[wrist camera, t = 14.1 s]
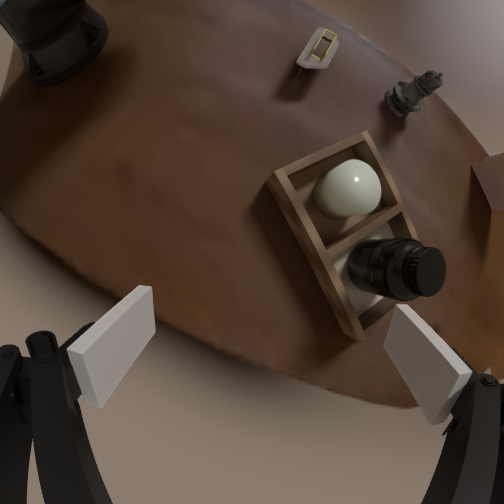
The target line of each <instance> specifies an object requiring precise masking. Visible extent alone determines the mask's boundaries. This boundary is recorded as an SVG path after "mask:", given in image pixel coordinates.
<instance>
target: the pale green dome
mask: <svg viewBox="0 0 504 504" xmlns="http://www.w3.org/2000/svg"><path fill="white" fill-rule="evenodd" d="M313 198H314V202H315V204H316V206H317V208H318V209H319V211H320V212H321V213H322V214H323V215H325V216H326V217H328V218H331V219H343V218H347V217H352V216H357V215H362V214H366V213H369V212H371V211H373V210H374V209H375V208H376V207H377V205H378V203H379V201H380V198H381V185H380V181H379V178H378V176H377V174H376V173H375V171H374V170H373V169H372V168H371V167H370V166H369V165H368V164H367V163H365V162H363V161H360V160H355V159H354V160H348V161H346V162H344V163H342V164H340V165H339V166H337V167H335V168H334V169H332V170H330V171H329V172H327V173H325V174H324V175H322V176H321V177H319V178H318V180H317V181H316V183H315V185H314V189H313Z"/></svg>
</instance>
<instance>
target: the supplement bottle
mask: <svg viewBox="0 0 504 504" xmlns="http://www.w3.org/2000/svg"><path fill="white" fill-rule="evenodd" d="M348 273H349V277H350V279H351V281H352V283H353V284H354V286H355V287H356V288H358V289H359V290H361V291H364V292H367V293H371V294H375V295H378V296H382V297H386V298H390V299H394V300H398V301H404V302H406V301H411V300H413V299H415V298H417V297H418V296H424V297H430V296H433V295H436V293H438V292H439V290H441V287H442V286H443V283H444V280H445V276H446V263H445V259H444V256H443V255H442V253H441V252H440V250H438V249H437V248H434V247H425V246H423V245H422V244H421V243H420V242H419V241H418V240H416V239H413V238H387V239H370V240H365V241H362V242H360V243H359V244H358V245H356V246H355V248H354V249H353V250H352V252H351V254H350V257H349V261H348Z"/></svg>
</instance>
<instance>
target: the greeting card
mask: <svg viewBox="0 0 504 504" xmlns="http://www.w3.org/2000/svg"><path fill="white" fill-rule="evenodd" d="M471 166H472V168H473V170H474V172H475V174H476V176H477V178H478V180H479V182H480V184H481V186H482V189H483V191H484V193H485V195H486V198H487V200H488V202H489V205H490V207H491V210H500V209H504V153H502V154H498V155H495V156H491V157H488V158H484V159H483V162H480V163H476V164H473V165H471Z"/></svg>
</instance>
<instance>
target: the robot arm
mask: <svg viewBox="0 0 504 504" xmlns="http://www.w3.org/2000/svg"><path fill="white" fill-rule="evenodd" d="M0 24H1V26H2V27H3V28H4V29H5V31H6V32H7V33H8V34H9V36H10V37H11V38H12V39H13V41H14V42H15V43H16V44H17V45H18V47H19V48H20V50H21V54H22V58H23V63H24V67H25V70H26V73H27V75H28V76H29V78H30V79H31V80H32V81H33V82H34V83H36V84H38V85H42V86H45V85H52V84H55V83H58V82H61V81H63V80H65V79H67V78H69V77H71V76H72V75H74V74H75V73H77V72H78V71H80V70H81V69H82V68H84V67H85V66H86V65H87V64H88V63H90V62H91V61H92V60H93V59H94V58H95V57H96V55H97V54H98V53H99V52H100V51H101V49H102V48H103V46H104V44H105V43H106V40H107V38H108V27H107V25H106V22H105V20H104V18H103V17H102V16H101V15H100V14H99V13H98V12H97V11H96V10H94V9H93V8H92V7H91V6H90V5H89V4H87V3H86V1H85V0H0ZM154 333H155V321H154V310H153V297H152V287H149V286H141V285H139V286H138V287H137V288H135V289H134V290H133V291H132V292H131V293H129V294H128V295H127V296H126V297H125V298H123V299H122V300H121V301H120V302H119V303H118V304H116V305H115V306H114V307H113V308H112V309H111V310H110V311H108V312H107V313H106V314H105V315H104V316H103V317H102V318H101V319H99V320H98V321H97V322H96V323H95V322H92V323H89V324H87V325H85V326H83V327H82V328H81V329H80V330H79V331H78V332H77V333H75V334H74V335H73V336H72V337H71V338H69V339H68V340H67V341H66V342H65V343H64V344H63V345H61V346H60V347H58V344H57V340H56V337H55V335H54V334H53V333H52V332H50V331H38V332H35V333H33V334H31V335H29V336H28V337H27V339H26V341H25V342H26V345H27V348H28V351H29V353H30V357H31V358H30V357H22V355H21V353H20V350H19V348H18V347H17V346H16V345H5V346H4V345H3V346H2V347H0V504H27V480H28V469H29V460H30V452H31V445H32V439H33V442H34V451H35V458H36V464H37V470H38V475H39V481H40V485H41V490H42V494H43V498H44V502H45V504H113V503H112V501H111V499H110V497H109V494H108V492H107V490H106V487H105V485H104V482H103V480H102V477H101V475H100V472H99V470H98V467H97V464H96V461H95V458H94V455H93V452H92V449H91V446H90V443H89V440H88V436H87V433H86V429H85V425H84V422H83V418H82V414H81V409H80V406H79V403H78V400H77V399H78V398H79V397H80V395H81V394H82V396H83V398H84V401H85V403H86V404H87V405H89V406H92V407H95V408H98V409H100V410H101V409H102V408H103V406H104V405H105V403H106V402H107V400H108V399H109V397H110V396H111V394H112V393H113V391H114V390H115V389H116V387H117V386H118V384H119V383H120V381H121V380H122V378H123V377H124V375H125V374H126V373H127V371H128V370H129V368H130V367H131V365H132V364H133V363H134V361H135V360H136V358H137V357H138V356H139V354H140V353H141V351H142V350H143V349H144V347H145V346H146V344H147V343H148V341H149V340H150V339H151V337H152V336H153V334H154ZM384 349H385V350H386V352H387V353H388V355H389V356H390V358H391V360H392V361H393V363H394V364H395V366H396V368H397V369H398V371H399V373H400V374H401V376H402V377H403V379H404V381H405V382H406V384H407V386H408V387H409V389H410V391H411V392H412V394H413V396H414V397H415V399H416V401H417V403H418V404H419V406H420V408H421V410H422V411H423V413H424V415H425V417H426V418H427V420H428V422H429V424H430V425H431V426H432V425H436V424H440V423H443V422H444V421H445V420H446V418H447V417H448V415H449V413H450V412H451V414H452V415H453V419H452V421H451V422H450V424H449V425H448V426H447V428H446V429H445V431H444V432H443V434H442V435H443V436H444V435H445V433H446V432H447V436H446V440H445V443H444V446H443V449H442V453H441V455H440V458H439V461H438V464H437V467H436V470H435V472H434V475H433V478H432V480H431V482H430V485H429V487H428V490H427V492H426V494H425V497H424V499H423V501H422V503H421V504H504V384H499V382H498V380H497V379H496V378H495V377H493V376H491V375H489V374H484V373H483V374H479V375H478V374H477V372H476V371H475V370H474V369H473V368H472V367H471V366H470V365H469V364H468V363H467V362H466V361H464V358H463V357H462V356H460V354H459V353H458V352H457V351H456V350H455V349H454V348H452V347H451V346H449V345H447V344H446V343H445V342H444V341H443V340H442V339H441V338H440V337H439V336H438V335H437V334H436V332H435V331H434V330H433V329H432V328H431V327H430V326H429V325H428V324H427V323H426V322H425V321H424V320H423V319H422V318H420V317H419V316H418V315H417V314H416V313H415V312H414V311H413V310H412V309H411V308H410V307H409V306H408V305H407V304H396V305H395V309H394V312H393V316H392V320H391V323H390V327H389V330H388V334H387V337H386V340H385V343H384ZM11 395H12V397H11Z"/></svg>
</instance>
